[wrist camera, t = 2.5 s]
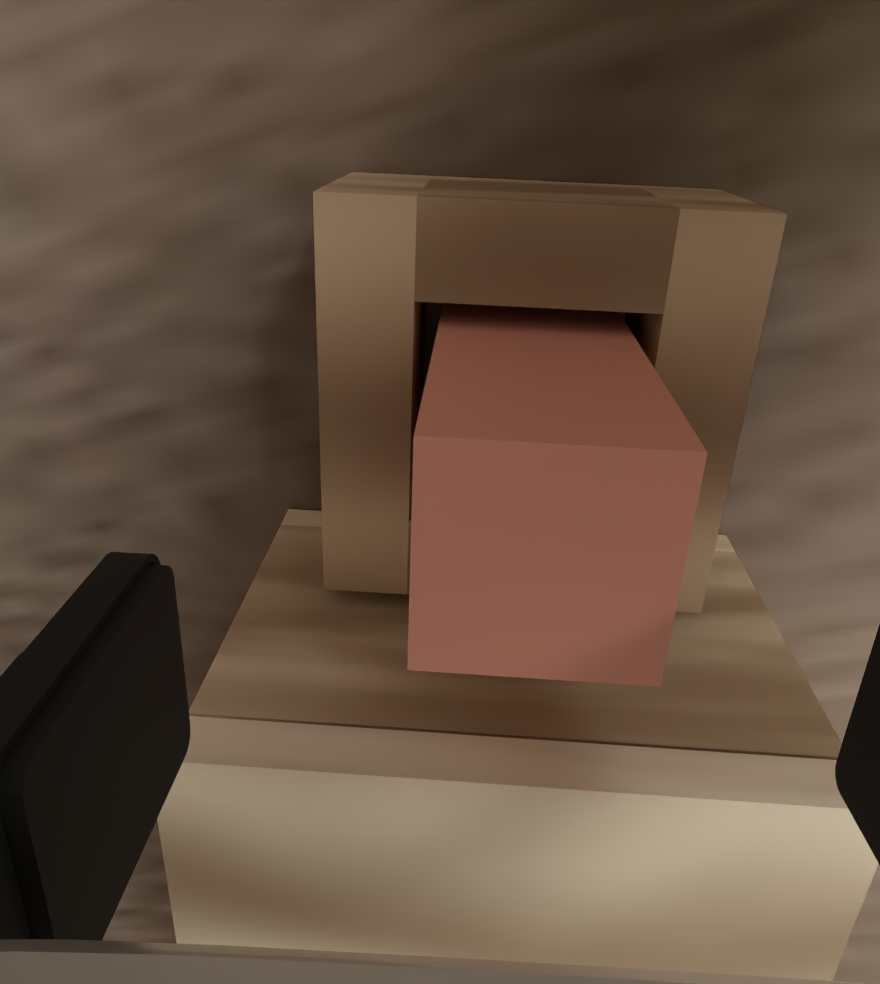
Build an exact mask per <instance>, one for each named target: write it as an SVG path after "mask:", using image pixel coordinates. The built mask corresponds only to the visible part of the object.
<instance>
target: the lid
mask: <svg viewBox="0 0 880 984" xmlns="http://www.w3.org/2000/svg"><path fill="white" fill-rule="evenodd" d="M189 718H190V741H189V746H188V750H187V753H186V756H185V758H184V761H183V763H182V765H181V767H180V769H179V772H178V774H177V776H176V778H175V780H174V783H173V785H172V787H171V789H170V791H169V794H168V796H167V798H166V800H165V802H164V805H163V807H162V809H161V811H160V813H159V816H158V818H157V821H158V828H159V834H160V840H161V847H162V853H163V860H164V866H165V872H166V879H167V885H168V892H169V898H170V904H171V911H172V917H173V924H174V930H175V936H176V943H177V944H204V945H228V946H246V947H265V948H283V949H301V950H320V951H338V952H356V953H375V954H393V955H411V956H430V957H448V958H466V959H483V960H500V961H517V962H534V963H550V964H567V965H584V966H601V967H617V968H634V969H650V970H666V971H683V972H699V973H715V974H731V975H748V976H764V977H779V978H794V979H809V980H824V981H832V980H833V977H834V975H835V972H836V970H837V967H838V965H839V962H840V960H841V957H842V954H843V952H844V949H845V947H846V944H847V942H848V939H849V937H850V934H851V932H852V929H853V927H854V924H855V922H856V919H857V917H858V914H859V911H860V909H861V906H862V904H863V901H864V899H865V896H866V894H867V891H868V889H869V886H870V884H871V881H872V879H873V876H874V874H875V871H876V868H877V866H878V861H877V860H876V858H875V856H874V854H873V852H872V851H871V849H870V847H869V845H868V843H867V842H866V840H865V838H864V836H863V834H862V833H861V831H860V829H859V827H858V825H857V823H856V822H855V820H854V818H853V816H852V814H851V813H850V811H849V809H848V807H847V805H846V804H845V802H844V800H843V798H842V796H841V795H840V792H839V790H838V788H837V784H836V778H835V766H836V761H837V760H828V759H814V758H799V757H784V756H770V755H755V754H740V753H726V752H711V751H696V750H682V749H667V748H652V747H637V746H623V745H608V744H593V743H579V742H564V741H549V740H535V739H520V738H505V737H491V736H476V735H461V734H447V733H432V732H417V731H403V730H388V729H373V728H359V727H344V726H329V725H315V724H300V723H285V722H271V721H256V720H241V719H227V718H212V717H197V716H189Z"/></svg>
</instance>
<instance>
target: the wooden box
mask: <svg viewBox="0 0 880 984" xmlns="http://www.w3.org/2000/svg"><path fill="white" fill-rule="evenodd" d="M313 215H314V251H315V288H316V325H317V361H318V398H319V434H320V471H321V507H322V511H315V510H298V509H288V511H287V513H286V515H285V517H284V519H283V521H282V523H281V525H280V527H279V529H278V531H277V533H276V535H275V537H274V539H273V541H272V543H271V545H270V547H269V549H268V551H267V553H266V555H265V557H264V559H263V561H262V563H261V565H260V567H259V569H258V572H257V574H256V576H255V578H254V580H253V582H252V584H251V586H250V588H249V590H248V592H247V594H246V596H245V598H244V600H243V602H242V604H241V606H240V608H239V610H238V612H237V614H236V616H235V618H234V620H233V622H232V624H231V626H230V628H229V630H228V632H227V634H226V636H225V638H224V640H223V642H222V644H221V646H220V648H219V650H218V652H217V655H216V657H215V659H214V661H213V663H212V665H211V667H210V669H209V671H208V673H207V675H206V677H205V679H204V681H203V683H202V685H201V687H200V689H199V691H198V693H197V695H196V697H195V699H194V701H193V703H192V705H191V707H190V709H189V716H197V717H212V718H227V719H241V720H256V721H271V722H285V723H300V724H315V725H329V726H344V727H359V728H373V729H388V730H403V731H417V732H432V733H447V734H461V735H476V736H491V737H505V738H520V739H535V740H549V741H564V742H579V743H593V744H608V745H623V746H637V747H652V748H667V749H682V750H696V751H711V752H726V753H740V754H755V755H770V756H784V757H799V758H814V759H828V760H837V758H838V755H839V752H840V748H841V745H842V743H841V741H840V740H839V738H838V736H837V734H836V732H835V731H834V729H833V727H832V725H831V723H830V722H829V720H828V718H827V716H826V714H825V713H824V711H823V709H822V707H821V705H820V704H819V702H818V700H817V698H816V696H815V695H814V693H813V691H812V689H811V687H810V686H809V684H808V682H807V680H806V678H805V677H804V675H803V673H802V671H801V669H800V668H799V666H798V664H797V662H796V660H795V659H794V657H793V655H792V653H791V651H790V650H789V648H788V646H787V644H786V642H785V641H784V639H783V637H782V635H781V633H780V632H779V630H778V628H777V626H776V624H775V623H774V621H773V619H772V617H771V615H770V614H769V612H768V610H767V608H766V606H765V605H764V603H763V601H762V599H761V597H760V596H759V594H758V592H757V590H756V588H755V587H754V585H753V583H752V581H751V579H750V578H749V576H748V574H747V572H746V570H745V569H744V567H743V565H742V563H741V561H740V560H739V558H738V556H737V554H736V552H735V551H734V549H733V547H732V545H731V543H730V541H729V540H728V538H727V536H726V535H718V533H719V528H720V524H721V519H722V515H723V510H724V505H725V501H726V496H727V491H728V487H729V482H730V478H731V473H732V468H733V464H734V459H735V454H736V450H737V445H738V441H739V436H740V431H741V427H742V422H743V418H744V413H745V408H746V404H747V399H748V394H749V390H750V385H751V381H752V376H753V371H754V367H755V362H756V357H757V353H758V348H759V344H760V339H761V334H762V330H763V325H764V321H765V316H766V311H767V307H768V302H769V297H770V293H771V288H772V284H773V279H774V274H775V270H776V265H777V260H778V256H779V251H780V247H781V242H782V237H783V233H784V228H785V224H786V219H787V214H786V213H783V212H781V211H778V210H775V209H772V208H770V207H767V206H764V205H761V204H758V203H756V202H753V201H750V200H747V199H745V198H742V197H739V196H736V195H734V194H731V193H728V192H725V191H722V190H720V189H704V188H683V187H662V186H640V185H619V184H598V183H576V182H555V181H533V180H512V179H491V178H469V177H448V176H427V175H405V174H384V173H363V172H351V173H349V174H347V175H345V176H343V177H341V178H339V179H337V180H335V181H333V182H331V183H329V184H327V185H325V186H323V187H321V188H319V189H317V190H315V191H313ZM443 303H455V304H475V305H494V306H513V307H533V308H552V309H571V310H591V311H610V312H619V313H620V315H621V317H622V318H623V320H624V321H625V323H626V324H627V326H628V328H629V329H630V331H631V332H632V334H633V335H634V337H635V339H636V340H637V342H638V343H639V345H640V346H641V348H642V350H643V351H644V353H645V354H646V356H647V357H648V359H649V361H650V362H651V364H652V365H653V367H654V369H655V370H656V372H657V373H658V375H659V376H660V378H661V380H662V381H663V383H664V384H665V386H666V387H667V389H668V391H669V392H670V394H671V395H672V397H673V398H674V400H675V402H676V403H677V405H678V406H679V408H680V409H681V411H682V413H683V414H684V416H685V417H686V419H687V420H688V422H689V424H690V425H691V427H692V428H693V430H694V432H695V433H696V435H697V436H698V438H699V439H700V441H701V443H702V444H703V446H704V447H705V449H706V450H707V452H708V454H707V459H706V464H705V469H704V474H703V479H702V484H701V489H700V494H699V499H698V504H697V509H696V514H695V519H694V524H693V529H692V534H691V539H690V544H689V549H688V554H687V559H686V564H685V569H684V574H683V579H682V584H681V589H680V594H679V599H678V604H677V609H676V614H675V619H674V624H673V629H672V634H671V639H670V644H669V649H668V654H667V659H666V664H665V669H664V674H663V679H662V684H661V687H656V686H641V685H626V684H611V683H595V682H580V681H565V680H550V679H535V678H519V677H504V676H489V675H474V674H459V673H443V672H428V671H413V670H407V661H408V625H409V588H410V551H411V515H412V478H413V441H414V432H415V427H416V423H417V419H418V414H419V410H420V405H421V401H422V396H423V392H424V387H425V383H426V378H427V374H428V369H429V365H430V360H431V356H432V352H433V347H434V343H435V338H436V334H437V329H438V325H439V320H440V316H441V311H442V307H443Z"/></svg>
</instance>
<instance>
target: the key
mask: <svg viewBox="0 0 880 984" xmlns="http://www.w3.org/2000/svg"><path fill="white" fill-rule="evenodd" d="M707 454H708V452H707V450H706V449H705V447H704V446H703V444H702V443H701V441H700V439H699V438H698V436H697V435H696V433H695V432H694V430H693V428H692V427H691V425H690V424H689V422H688V420H687V419H686V417H685V416H684V414H683V413H682V411H681V409H680V408H679V406H678V405H677V403H676V402H675V400H674V398H673V397H672V395H671V394H670V392H669V391H668V389H667V387H666V386H665V384H664V383H663V381H662V380H661V378H660V376H659V375H658V373H657V372H656V370H655V369H654V367H653V365H652V364H651V362H650V361H649V359H648V357H647V356H646V354H645V353H644V351H643V350H642V348H641V346H640V345H639V343H638V342H637V340H636V339H635V337H634V335H633V334H632V332H631V331H630V329H629V328H628V326H627V324H626V323H625V321H624V320H623V318H622V317H621V315H620V313H619V312H610V311H591V310H571V309H552V308H533V307H513V306H494V305H475V304H455V303H443V307H442V311H441V316H440V320H439V325H438V329H437V334H436V338H435V343H434V347H433V352H432V356H431V360H430V365H429V369H428V374H427V378H426V383H425V387H424V392H423V396H422V401H421V405H420V410H419V414H418V419H417V423H416V427H415V432H414V441H413V478H412V515H411V551H410V588H409V625H408V661H407V670H413V671H428V672H443V673H459V674H474V675H489V676H504V677H519V678H535V679H550V680H565V681H580V682H595V683H611V684H626V685H641V686H656V687H661V684H662V679H663V674H664V669H665V664H666V659H667V654H668V649H669V644H670V639H671V634H672V629H673V624H674V619H675V614H676V609H677V604H678V599H679V594H680V589H681V584H682V579H683V574H684V569H685V564H686V559H687V554H688V549H689V544H690V539H691V534H692V529H693V524H694V519H695V514H696V509H697V504H698V499H699V494H700V489H701V484H702V479H703V474H704V469H705V464H706V459H707Z"/></svg>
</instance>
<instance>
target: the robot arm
mask: <svg viewBox="0 0 880 984" xmlns="http://www.w3.org/2000/svg"><path fill="white" fill-rule="evenodd" d="M189 741H190V718H189V709H188V700H187V691H186V682H185V673H184V664H183V655H182V646H181V637H180V627H179V618H178V609H177V600H176V591H175V582H174V575H173V571H172V569H171V567H170V566H163V565H160V561H159V559H158V557H157V556H156V555H155V554H141V553H122V552H110V553H109V554H107V555H106V556H105V557H104V558H103V560H102V561H101V562H100V563H99V564H98V565H97V567H96V568H95V569H94V570H93V571H92V572H91V574H90V575H89V576H88V577H87V578H86V579H85V581H84V582H83V583H82V584H81V585H80V586H79V588H78V589H77V590H76V591H75V592H74V593H73V595H72V596H71V597H70V598H69V599H68V600H67V602H66V603H65V604H64V605H63V606H62V607H61V609H60V610H59V611H58V612H57V613H56V614H55V616H54V617H53V618H52V619H51V620H50V621H49V623H48V624H47V625H46V626H45V627H44V628H43V630H42V631H41V632H40V633H39V634H38V635H37V637H36V638H35V639H34V640H33V641H32V642H31V644H30V645H29V646H28V647H27V648H26V649H25V651H23V652H22V653H21V654H20V655H19V656H18V657H17V658H16V659H15V660H14V661H13V663H12V664H11V665H10V666H9V667H8V668H7V669H6V671H5V672H4V673H3V674H2V675H1V676H0V984H869V983H854V982H839V981H824V980H809V979H794V978H779V977H764V976H748V975H731V974H715V973H699V972H683V971H666V970H650V969H634V968H617V967H601V966H584V965H567V964H550V963H534V962H517V961H500V960H483V959H466V958H448V957H430V956H411V955H393V954H375V953H356V952H338V951H320V950H301V949H283V948H265V947H246V946H228V945H204V944H177V943H151V942H124V941H102V939H103V936H104V934H105V932H106V930H107V928H108V925H109V923H110V921H111V919H112V917H113V914H114V912H115V910H116V908H117V906H118V903H119V901H120V899H121V897H122V895H123V892H124V890H125V888H126V886H127V884H128V881H129V879H130V877H131V875H132V873H133V870H134V868H135V866H136V864H137V862H138V860H139V857H140V855H141V853H142V851H143V849H144V846H145V844H146V842H147V840H148V838H149V835H150V833H151V831H152V829H153V827H154V824H155V822H156V820H157V818H158V816H159V813H160V811H161V809H162V807H163V805H164V802H165V800H166V798H167V796H168V794H169V791H170V789H171V787H172V785H173V783H174V780H175V778H176V776H177V774H178V772H179V769H180V767H181V765H182V763H183V761H184V758H185V756H186V753H187V750H188V746H189ZM835 778H836V784H837V788H838V790H839V792H840V795H841V796H842V798H843V800H844V802H845V804H846V805H847V807H848V809H849V811H850V813H851V814H852V816H853V818H854V820H855V822H856V823H857V825H858V827H859V829H860V831H861V833H862V834H863V836H864V838H865V840H866V842H867V843H868V845H869V847H870V849H871V851H872V852H873V854H874V856H875V858H876V860H877V861H878V863H879V865H880V625H879V628H878V631H877V634H876V638H875V641H874V644H873V647H872V650H871V653H870V657H869V660H868V663H867V666H866V669H865V672H864V676H863V679H862V682H861V685H860V688H859V691H858V695H857V698H856V701H855V704H854V707H853V710H852V714H851V717H850V720H849V723H848V726H847V729H846V733H845V736H844V739H843V742H842V745H841V748H840V752H839V755H838V758H837V761H836V766H835Z"/></svg>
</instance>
